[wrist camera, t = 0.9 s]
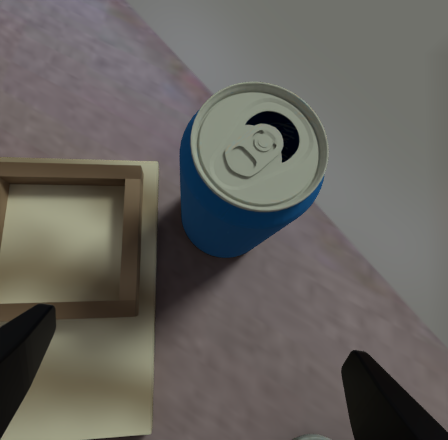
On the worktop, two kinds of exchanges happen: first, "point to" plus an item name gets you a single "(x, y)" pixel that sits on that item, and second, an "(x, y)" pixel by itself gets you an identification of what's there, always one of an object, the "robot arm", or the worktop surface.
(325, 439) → the ceramic mug
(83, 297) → the can holder
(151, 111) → the worktop surface
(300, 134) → the beverage can
